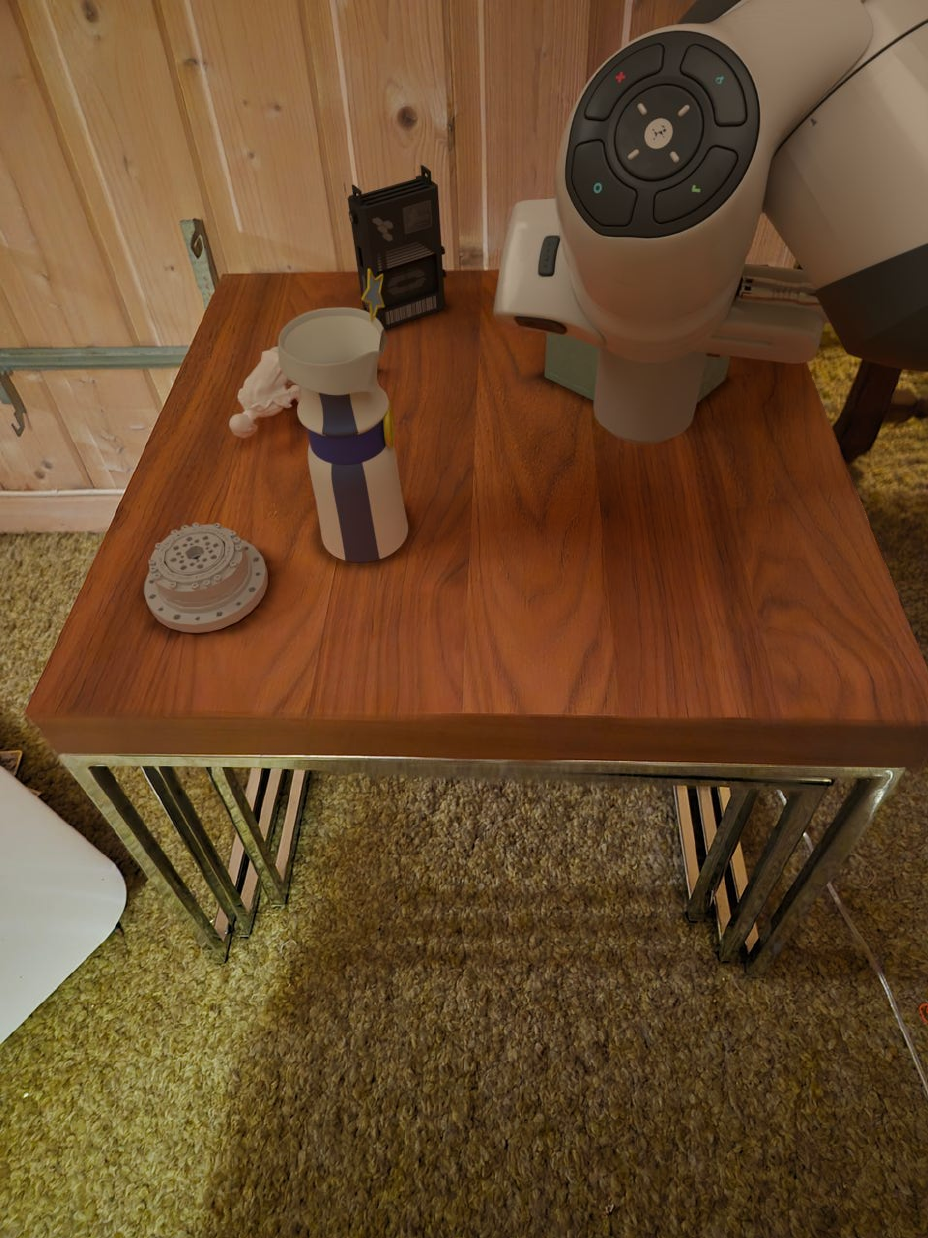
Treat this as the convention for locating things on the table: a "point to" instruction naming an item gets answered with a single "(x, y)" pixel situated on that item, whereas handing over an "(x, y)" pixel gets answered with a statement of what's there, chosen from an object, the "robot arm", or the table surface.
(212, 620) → the mechanical component
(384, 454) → the water bottle
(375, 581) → the table surface
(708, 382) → the green box
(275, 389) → the figurine
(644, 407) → the can
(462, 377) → the table surface
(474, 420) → the table surface
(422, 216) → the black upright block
